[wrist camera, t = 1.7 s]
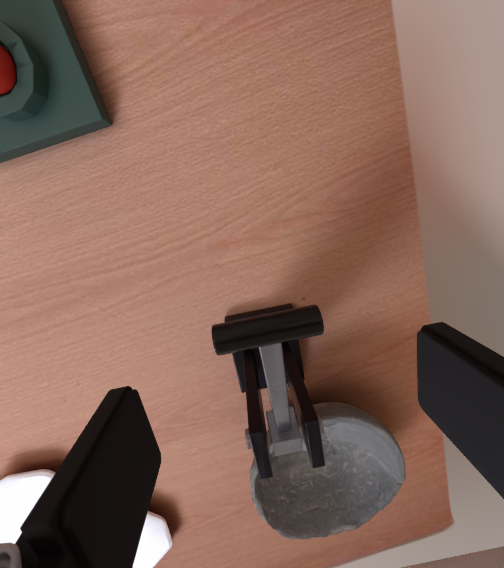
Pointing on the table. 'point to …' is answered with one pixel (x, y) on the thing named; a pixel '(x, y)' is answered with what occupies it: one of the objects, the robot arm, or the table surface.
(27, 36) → the button box
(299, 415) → the bracket
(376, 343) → the table surface
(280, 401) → the lever
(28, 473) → the plate
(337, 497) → the bowl
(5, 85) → the button
